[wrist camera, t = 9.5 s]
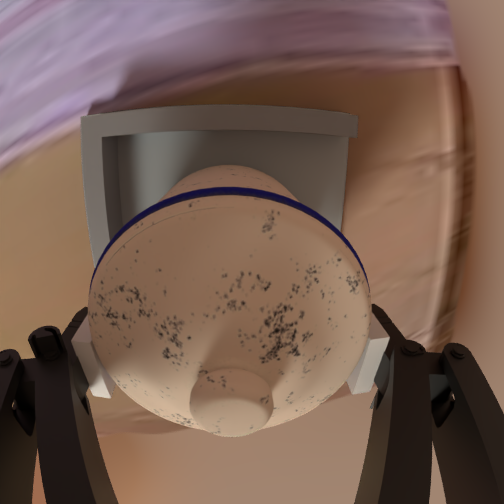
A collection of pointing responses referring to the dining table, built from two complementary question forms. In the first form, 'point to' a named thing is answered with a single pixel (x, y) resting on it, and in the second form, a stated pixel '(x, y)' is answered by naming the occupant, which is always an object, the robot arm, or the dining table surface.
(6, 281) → the dining table surface
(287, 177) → the grey shallow square tray
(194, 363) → the teacup with lid
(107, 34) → the dining table surface
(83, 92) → the dining table surface
